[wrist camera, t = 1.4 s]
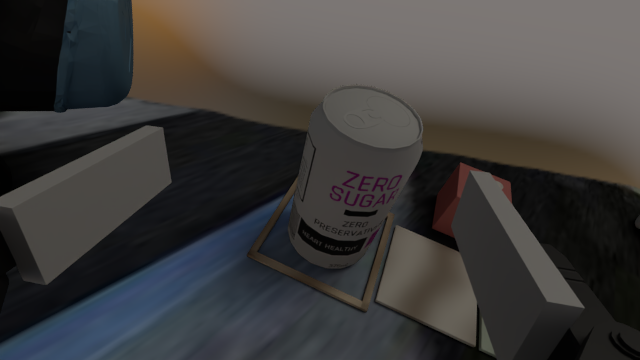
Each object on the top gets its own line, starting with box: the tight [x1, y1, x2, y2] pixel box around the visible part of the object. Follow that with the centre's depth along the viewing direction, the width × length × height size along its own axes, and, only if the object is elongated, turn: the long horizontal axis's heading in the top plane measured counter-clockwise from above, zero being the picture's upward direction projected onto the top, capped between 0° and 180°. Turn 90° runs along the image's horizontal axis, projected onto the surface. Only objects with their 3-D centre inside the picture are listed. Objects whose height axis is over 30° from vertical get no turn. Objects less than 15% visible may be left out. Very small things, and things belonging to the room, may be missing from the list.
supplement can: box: [288, 84, 423, 268], centre depth 27 cm, size 8×8×15 cm
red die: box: [432, 163, 512, 238], centre depth 35 cm, size 6×6×6 cm
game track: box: [247, 175, 496, 358], centre depth 31 cm, size 31×12×1 cm, turn 68°
